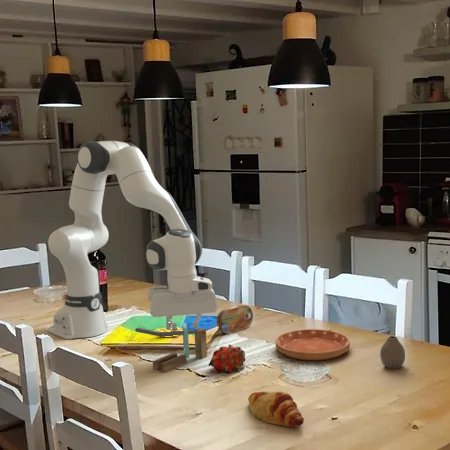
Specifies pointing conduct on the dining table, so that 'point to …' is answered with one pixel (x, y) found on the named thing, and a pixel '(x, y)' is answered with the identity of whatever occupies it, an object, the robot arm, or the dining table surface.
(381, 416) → the dining table surface
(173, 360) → the slot block
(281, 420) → the croissant
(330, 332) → the saucer
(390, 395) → the dining table surface
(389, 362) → the vase
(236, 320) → the tin
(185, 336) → the square ring
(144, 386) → the dining table surface
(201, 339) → the curved rod stand
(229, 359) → the dragon fruit
